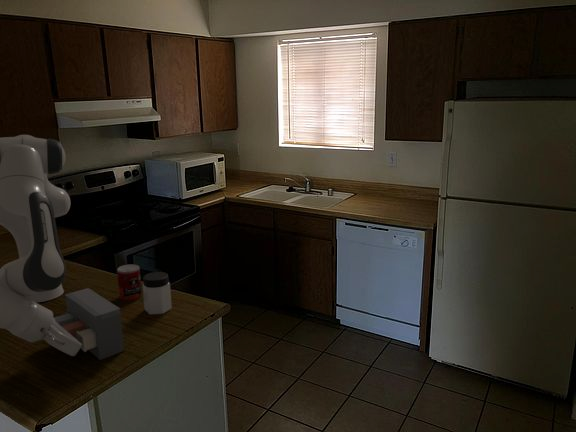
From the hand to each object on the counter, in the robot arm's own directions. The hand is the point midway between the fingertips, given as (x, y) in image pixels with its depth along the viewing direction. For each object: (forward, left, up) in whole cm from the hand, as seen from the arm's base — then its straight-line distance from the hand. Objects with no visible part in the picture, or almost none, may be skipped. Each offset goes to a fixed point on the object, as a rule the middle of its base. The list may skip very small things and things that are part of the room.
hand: (78, 344), depth 132 cm
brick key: (-5, +5, -1) cm, 7 cm away
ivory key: (+2, +4, -1) cm, 5 cm away
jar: (+4, +35, -5) cm, 35 cm away
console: (-2, +10, -5) cm, 11 cm away
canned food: (-11, +42, -5) cm, 44 cm away
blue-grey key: (-11, +9, -1) cm, 14 cm away
